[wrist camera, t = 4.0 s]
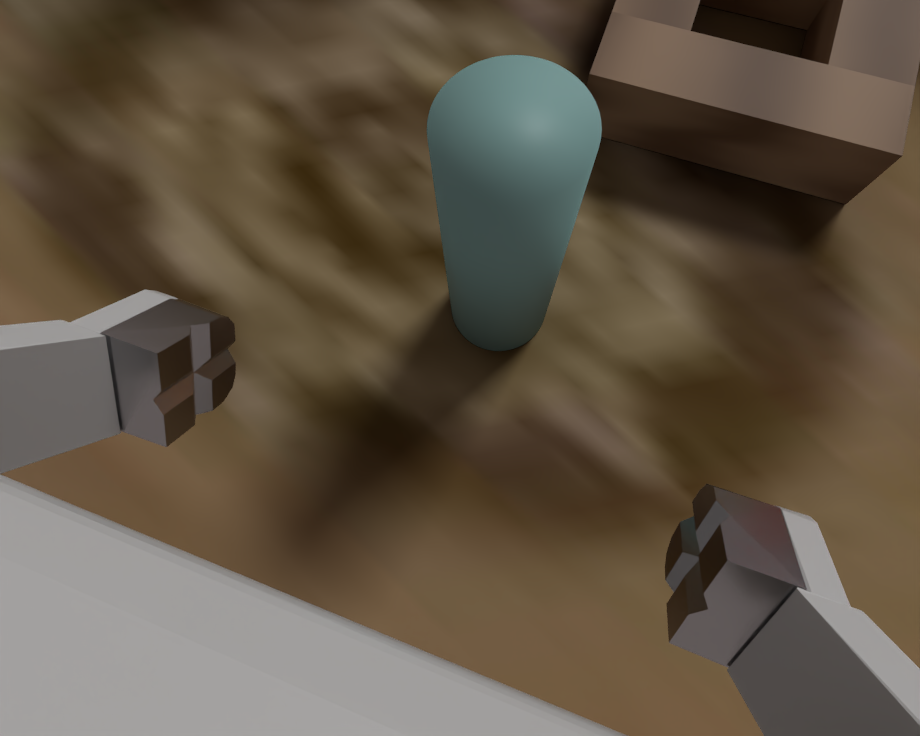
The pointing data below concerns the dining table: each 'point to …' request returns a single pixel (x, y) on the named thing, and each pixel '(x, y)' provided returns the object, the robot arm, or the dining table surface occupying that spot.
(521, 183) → the peg
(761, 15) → the socket block
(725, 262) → the dining table surface
